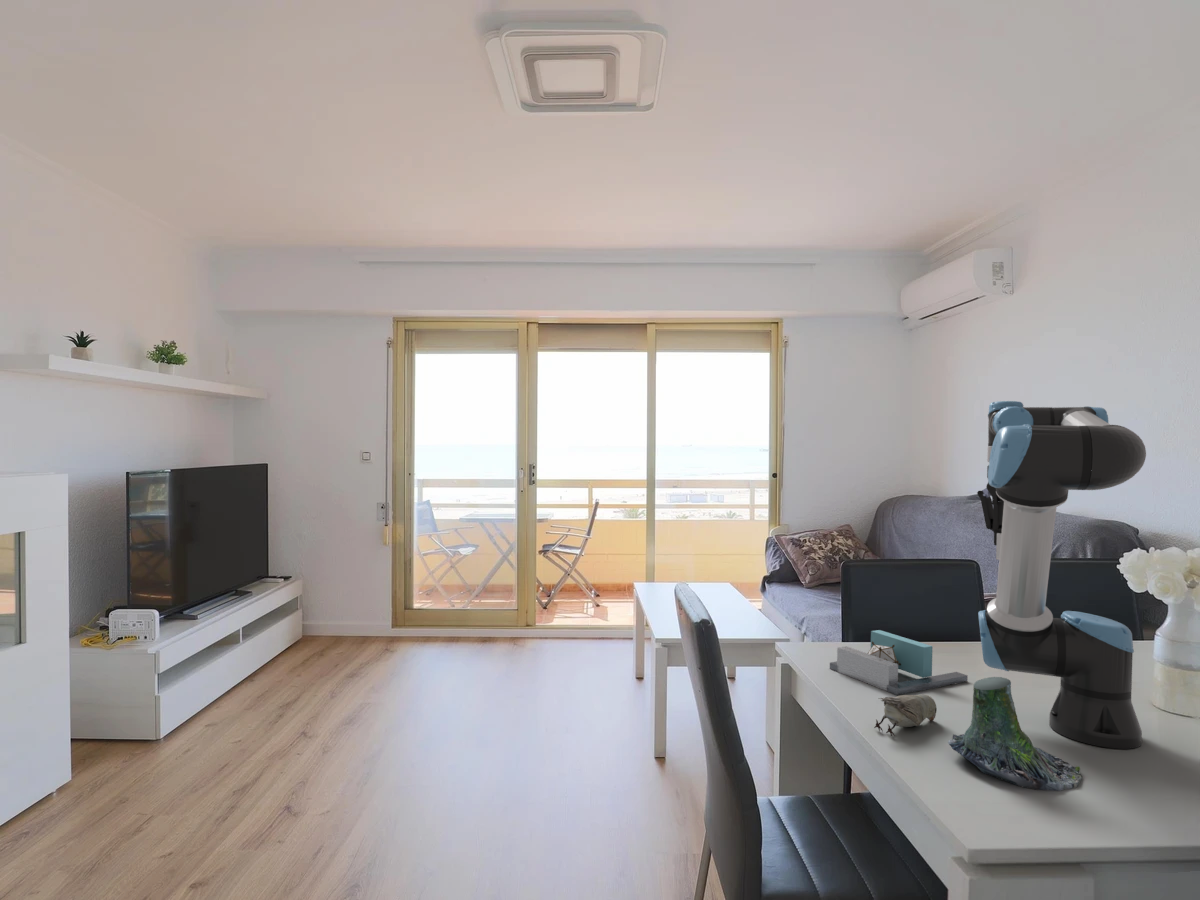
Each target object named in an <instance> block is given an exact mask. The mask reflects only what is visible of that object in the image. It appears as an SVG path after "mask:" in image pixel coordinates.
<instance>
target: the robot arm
mask: <svg viewBox="0 0 1200 900" xmlns="http://www.w3.org/2000/svg"><path fill="white" fill-rule="evenodd" d="M987 419H988V427H987V429H988V433H987V434H988V435H987V436H988V438H987V439H988V443H987V459H986V460H987V463H988V465H987V468H986V469H987V470H986V477H987V484H986V488H984V489H982V490H978V491H977V492H976V494H977V496H978V497H979V499H980V503H981V508H982V512H983V517H984V523H985V528H986V529H987V530H990V531H992V532H993V545H994V546H996V550H995V551H996V556H995V558H996V559H995V560H998V570H997V584H996V597H995V598H992V599H991V600H990V601H989V602H988V603H987V606H986V609H984V610H979V611H978V613H977V614H978V624H979V633H980V634H979V636H980V644H981V650H982V660H983V662H984V664H985V665H986V666H987V667H989V668H992V669H997V670H1001V671H1002V670H1003V671H1005V672H1010V671H1011V672H1018V673H1026V674H1034V675H1042V676H1049V677H1056V678H1057V677H1058V678H1060V687H1059V688H1060V689H1059V691H1058V693H1057V695H1056V698H1055V700H1054V703H1053V704H1052V708H1051V710H1050V712H1049V718H1048V719H1049V721H1048V722H1049V724H1048V725H1049V727H1050V729H1052V730H1053V731H1055V732H1056V733H1058V734H1059V735H1061V736H1064V737H1066V738H1069V739H1071V740H1074V741H1076V742H1080V743H1083V744H1088V745H1092V746H1097V747H1101V748H1109V749H1119V750H1120V749H1123V750H1125V749H1127V750H1129V749H1135V748H1139V747H1141V745H1142V743H1143V732H1142V729H1141V725H1140V722H1139V720H1138V717H1137V714H1136V711H1135V708H1134V706H1133V705H1134V704H1133V702H1132V701H1133V700H1132V688H1133V687H1132V685H1133V653H1134V652H1135V651H1134V644H1133V643H1134V641H1133V633H1132V631H1131V629H1129V627H1128V626H1126V625H1125V624H1124V623H1121V622H1118V621H1117V620H1113V619H1111V618H1108V617H1104V616H1101V615H1096V614H1092V613H1086V612H1082V611H1075V610H1074V611H1072V610H1065V611H1063V612H1062V614H1060V618H1058V617H1054V615H1053V613H1052V611H1051V609H1049V608H1048V606H1046V603H1047V597H1048V596H1047V595H1048V585H1049V577H1050V568H1051V560H1052V550H1053V540H1054V532H1055V523H1056V515H1057V507H1060V506H1061V505H1064V504H1065V503H1066V502H1067V500H1068V498H1069V497H1068V496H1069V491H1098V490H1099V491H1100V490H1106V489H1109V488H1113V487H1116V486H1120V485H1121V484H1124V483H1126V482H1127V481H1129V480H1130V479H1132V478H1134V476H1135V475H1136V474H1137V473H1139V472H1140V470H1141V469H1142V468H1143V466H1144V464H1145V461H1146V457H1147V450H1146V445H1145V443H1144V442H1143V440H1142V439H1141V437H1140V436H1139V434H1137V433H1135V432H1134V431H1133V430H1131V429H1129V428H1127V427H1125V426H1121V425H1118V424H1111V423H1109V415H1108V412H1107V410H1106V409H1105V408H1103V407H1095V406H1079V407H1078V406H1073V407H1072V406H1071V407H1069V406H1068V407H1067V406H1066V407H1065V406H1063V407H1059V406H1058V407H1053V406H1049V407H1048V406H1047V407H1045V406H1042V407H1039V406H1038V407H1037V406H1036V407H1034V406H1033V407H1030V406H1028V407H1027V406H1024V403H1023V402H1021V401H1015V400H1007V401H1005V400H1003V401H1001V400H1000V401H998V400H997V401H992V402H991V403H989V406H988V414H987Z"/></svg>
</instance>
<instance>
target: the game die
mask: <svg viewBox="0 0 1200 900" xmlns="http://www.w3.org/2000/svg"><path fill="white" fill-rule="evenodd" d="M872 644H873V646H872V647H871V646H870V649H869V650H868V652H866V653H867V654H870V655H873V656H876V657H879V658H881V659H884V660H887V661H890V662H893V663H896V664H898V665H901V663H899V662H898V661H897V658H896V655H895V653H894V650H893V647H895V645H893V646H892V647H888V646H882V645H875V644H874V642H872Z"/></svg>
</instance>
